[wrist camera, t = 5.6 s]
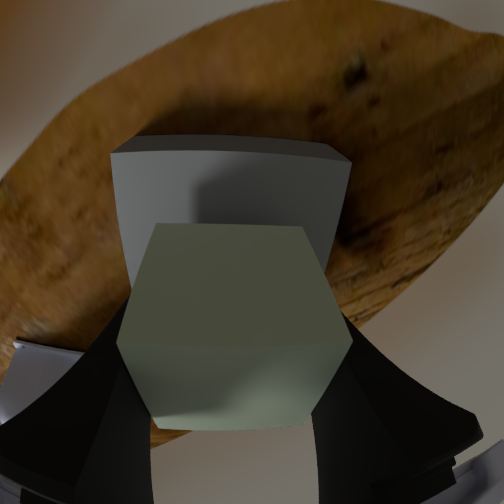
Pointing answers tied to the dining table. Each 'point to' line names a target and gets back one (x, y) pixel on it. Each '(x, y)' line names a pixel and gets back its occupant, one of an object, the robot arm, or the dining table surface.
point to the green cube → (231, 327)
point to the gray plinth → (227, 186)
